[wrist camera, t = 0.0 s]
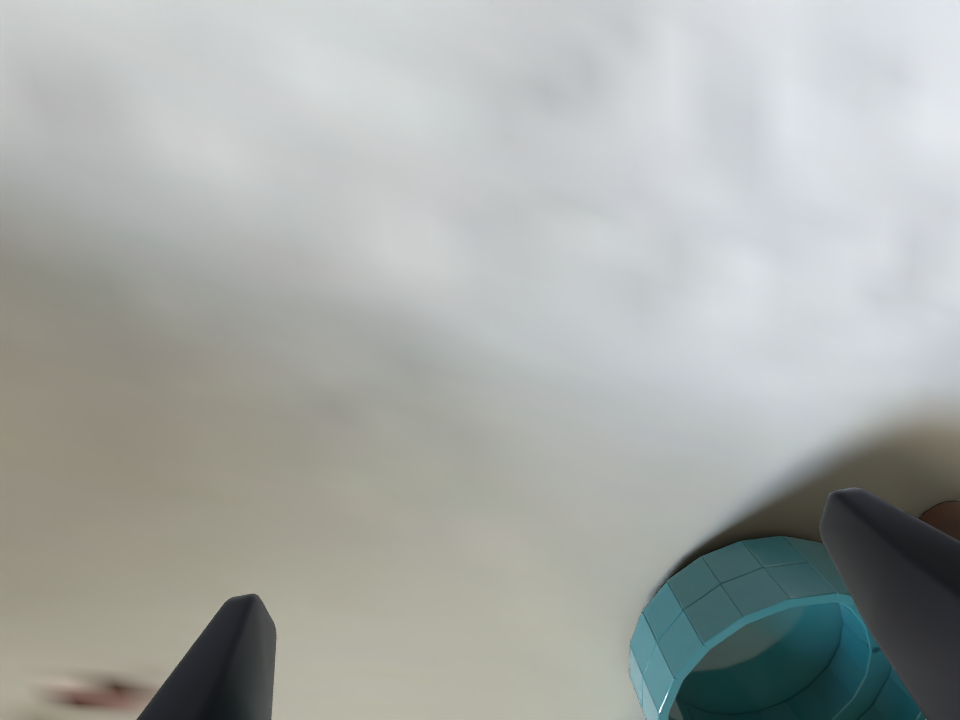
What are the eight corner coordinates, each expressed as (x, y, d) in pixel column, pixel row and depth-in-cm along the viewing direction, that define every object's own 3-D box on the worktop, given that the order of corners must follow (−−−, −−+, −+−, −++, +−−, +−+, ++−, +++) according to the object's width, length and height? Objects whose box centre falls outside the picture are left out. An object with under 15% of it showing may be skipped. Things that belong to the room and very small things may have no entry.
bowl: (759, 756, 33) (808, 843, 29) (577, 678, 30) (601, 762, 26) (915, 593, 30) (995, 662, 26) (730, 488, 27) (786, 547, 23)
